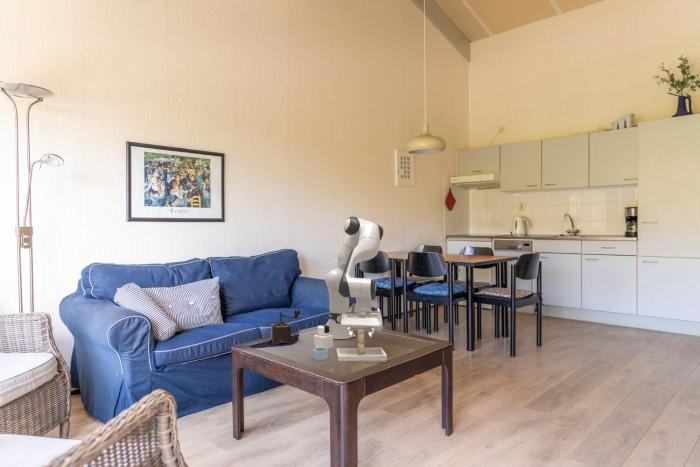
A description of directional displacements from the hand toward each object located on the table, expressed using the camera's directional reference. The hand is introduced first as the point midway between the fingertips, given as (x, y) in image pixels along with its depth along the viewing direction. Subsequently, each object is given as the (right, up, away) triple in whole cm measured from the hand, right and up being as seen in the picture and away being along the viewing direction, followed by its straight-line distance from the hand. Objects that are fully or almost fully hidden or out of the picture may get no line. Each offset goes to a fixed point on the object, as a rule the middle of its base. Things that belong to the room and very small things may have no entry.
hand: (360, 336), depth 215 cm
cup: (-19, -10, -4) cm, 21 cm away
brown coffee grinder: (-40, -11, +34) cm, 54 cm away
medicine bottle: (-18, -11, +17) cm, 27 cm away
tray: (0, -10, 0) cm, 10 cm away
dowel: (0, -9, 0) cm, 9 cm away
